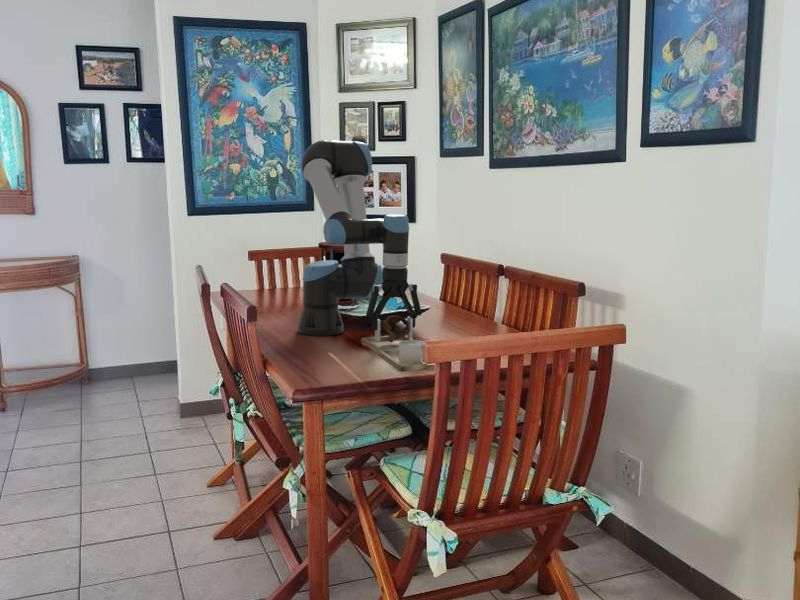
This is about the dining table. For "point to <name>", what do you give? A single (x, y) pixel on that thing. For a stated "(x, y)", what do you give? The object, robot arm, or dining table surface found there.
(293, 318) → the dining table surface
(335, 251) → the hourglass
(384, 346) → the tray
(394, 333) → the dark brown looped part
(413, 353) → the grey short cylinder
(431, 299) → the dining table surface
